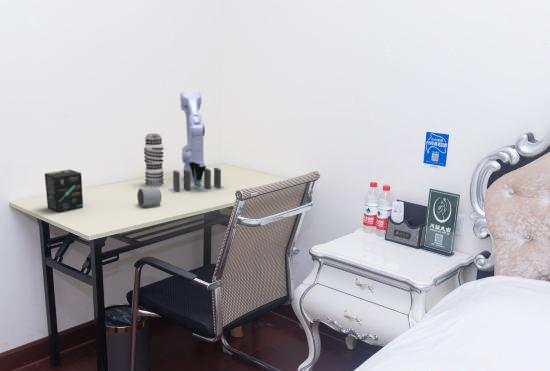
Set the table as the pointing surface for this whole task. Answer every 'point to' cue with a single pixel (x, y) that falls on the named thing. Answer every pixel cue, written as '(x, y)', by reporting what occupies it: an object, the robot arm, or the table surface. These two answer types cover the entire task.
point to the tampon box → (64, 190)
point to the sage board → (196, 189)
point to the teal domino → (196, 181)
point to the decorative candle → (153, 160)
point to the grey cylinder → (149, 196)
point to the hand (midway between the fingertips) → (197, 178)
